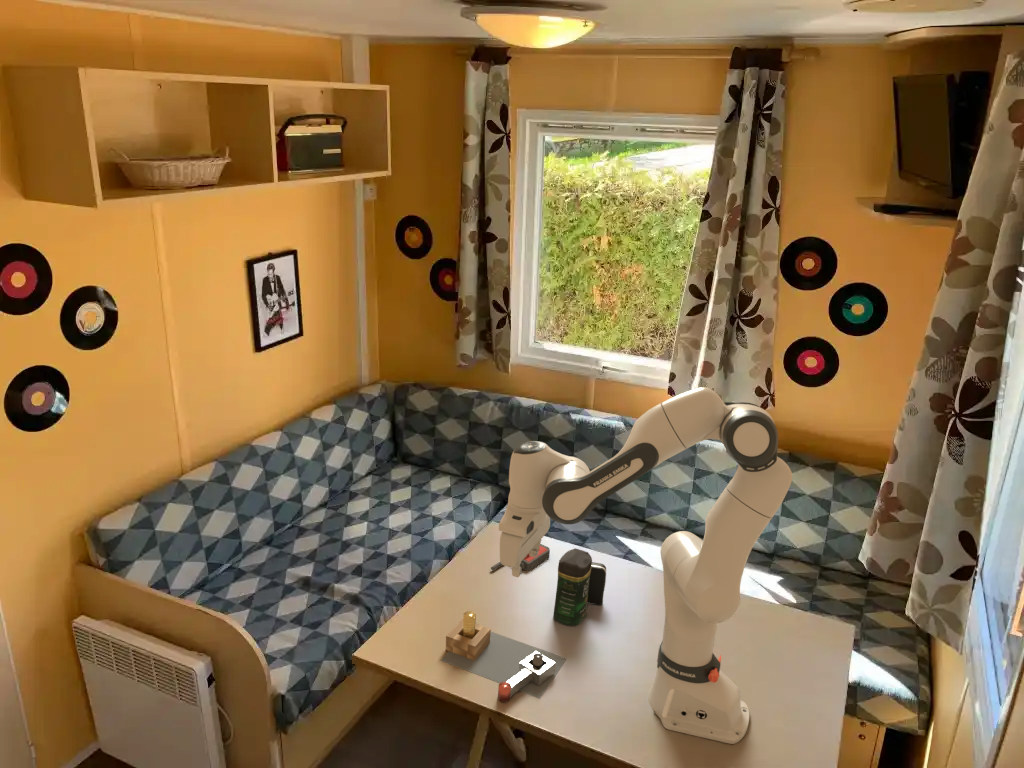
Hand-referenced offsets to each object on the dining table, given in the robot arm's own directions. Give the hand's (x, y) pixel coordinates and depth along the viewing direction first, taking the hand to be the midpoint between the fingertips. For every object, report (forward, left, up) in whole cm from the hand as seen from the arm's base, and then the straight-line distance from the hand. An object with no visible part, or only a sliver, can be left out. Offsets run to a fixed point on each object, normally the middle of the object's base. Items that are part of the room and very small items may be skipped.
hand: (525, 565), depth 181 cm
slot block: (+13, +1, -26) cm, 30 cm away
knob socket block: (-4, +7, -26) cm, 27 cm away
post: (-6, +2, -26) cm, 27 cm away
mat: (+3, +1, -27) cm, 27 cm away
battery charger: (-6, -34, -27) cm, 44 cm away
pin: (+13, +1, -26) cm, 30 cm away
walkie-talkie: (+19, -41, -28) cm, 53 cm away
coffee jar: (-4, -24, -27) cm, 36 cm away
